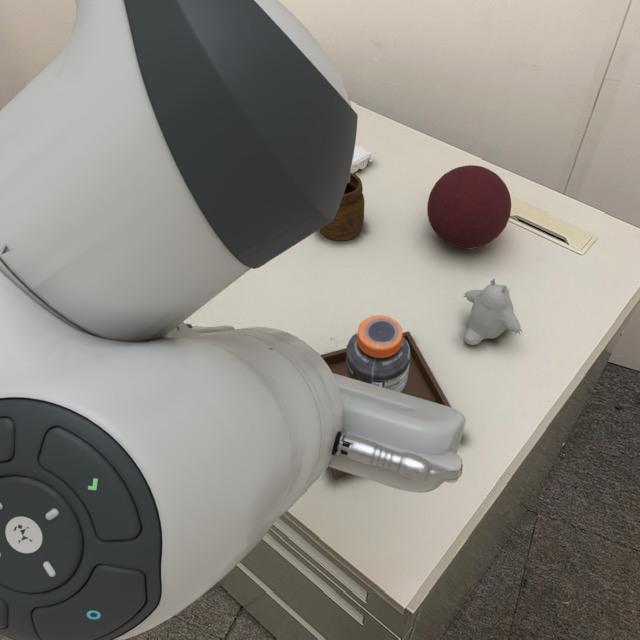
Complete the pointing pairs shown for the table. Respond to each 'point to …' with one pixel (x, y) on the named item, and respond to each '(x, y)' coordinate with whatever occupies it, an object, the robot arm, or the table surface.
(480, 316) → the figurine
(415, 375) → the tray
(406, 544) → the table surface
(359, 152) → the toy car
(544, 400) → the table surface
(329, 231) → the utensil holder
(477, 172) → the decorative ball
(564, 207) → the table surface
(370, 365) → the pill bottle
